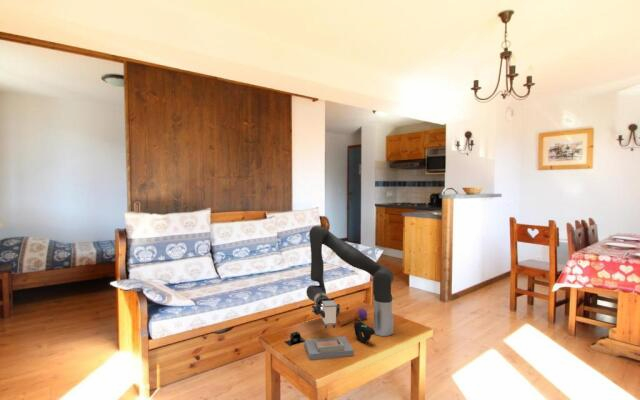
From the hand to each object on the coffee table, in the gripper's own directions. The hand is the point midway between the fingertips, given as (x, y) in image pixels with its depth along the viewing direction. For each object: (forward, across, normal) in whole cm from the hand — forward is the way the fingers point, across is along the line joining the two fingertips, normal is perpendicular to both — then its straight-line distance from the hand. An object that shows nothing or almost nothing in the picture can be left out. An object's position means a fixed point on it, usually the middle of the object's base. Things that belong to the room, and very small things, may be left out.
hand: (330, 315), depth 151 cm
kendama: (-33, +21, +18) cm, 43 cm away
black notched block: (-15, -14, +19) cm, 28 cm away
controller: (-8, +19, +18) cm, 27 cm away
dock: (-3, 0, +18) cm, 18 cm away
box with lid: (-3, 0, +6) cm, 7 cm away
